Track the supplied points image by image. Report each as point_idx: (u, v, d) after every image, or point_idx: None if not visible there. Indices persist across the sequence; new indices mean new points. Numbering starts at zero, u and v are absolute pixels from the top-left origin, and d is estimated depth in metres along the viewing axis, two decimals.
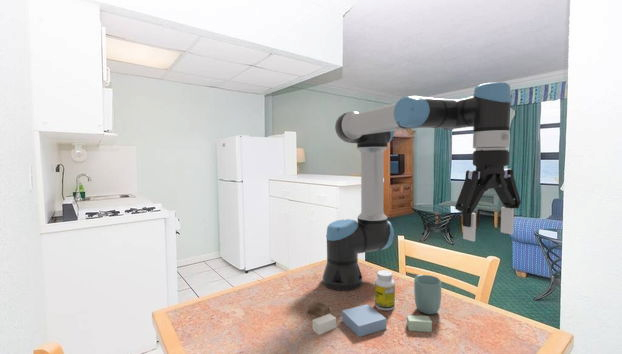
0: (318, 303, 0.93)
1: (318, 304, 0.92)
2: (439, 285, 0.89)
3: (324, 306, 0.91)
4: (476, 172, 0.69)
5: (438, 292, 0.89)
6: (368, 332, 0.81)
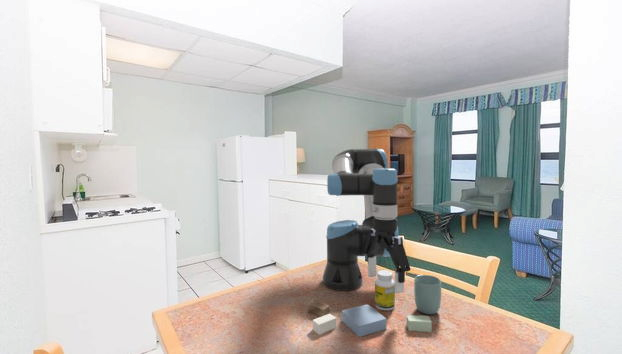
0: (318, 303, 0.93)
1: (318, 304, 0.92)
2: (439, 285, 0.89)
3: (324, 306, 0.91)
4: (369, 230, 1.00)
5: (438, 292, 0.89)
6: (368, 332, 0.81)
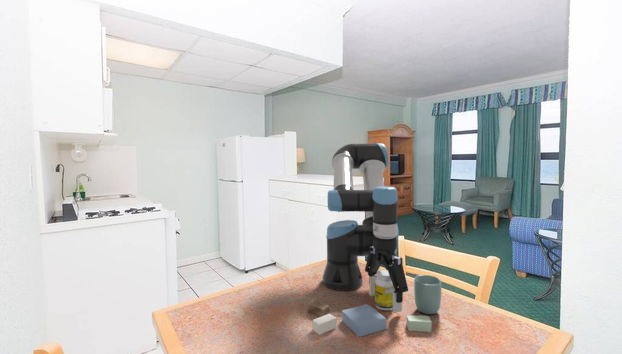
0: (318, 303, 0.93)
1: (318, 304, 0.92)
2: (439, 285, 0.89)
3: (324, 306, 0.91)
4: (369, 248, 1.00)
5: (438, 292, 0.89)
6: (368, 332, 0.81)
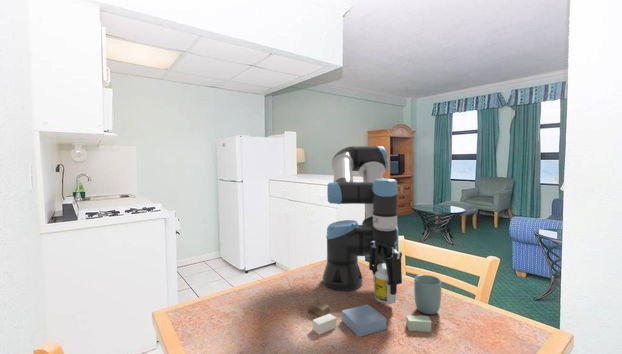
0: (318, 303, 0.93)
1: (318, 304, 0.92)
2: (439, 285, 0.89)
3: (324, 306, 0.91)
4: (369, 243, 1.00)
5: (438, 292, 0.89)
6: (368, 332, 0.81)
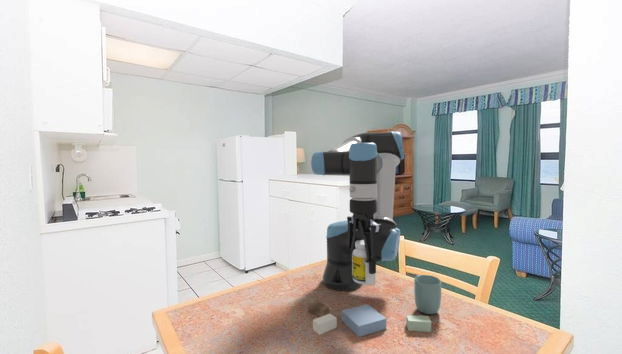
0: (318, 303, 0.93)
1: (318, 304, 0.92)
2: (439, 285, 0.89)
3: (324, 306, 0.91)
4: (347, 218, 0.89)
5: (438, 292, 0.89)
6: (368, 332, 0.81)
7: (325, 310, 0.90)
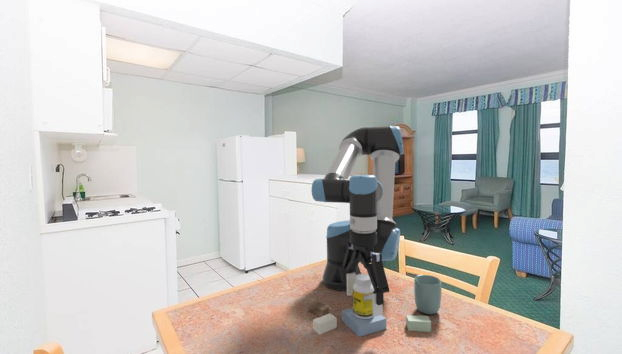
0: (318, 303, 0.93)
1: (318, 304, 0.92)
2: (439, 285, 0.89)
3: (324, 306, 0.91)
4: (347, 243, 0.90)
5: (438, 292, 0.89)
6: (368, 332, 0.81)
7: (325, 310, 0.90)
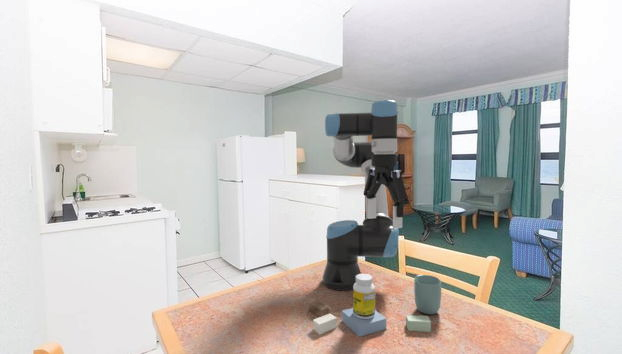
0: (319, 303, 0.93)
1: (318, 304, 0.92)
2: (439, 285, 0.89)
3: (323, 307, 0.91)
4: (369, 169, 0.96)
5: (438, 292, 0.89)
6: (368, 332, 0.81)
7: (324, 310, 0.90)
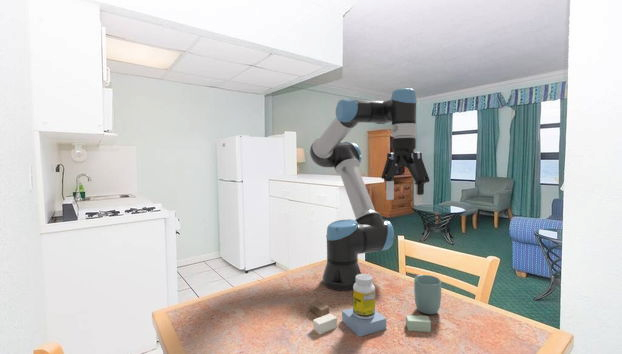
0: (319, 303, 0.93)
1: (318, 304, 0.92)
2: (439, 285, 0.89)
3: (323, 307, 0.91)
4: (387, 154, 1.04)
5: (438, 292, 0.89)
6: (368, 332, 0.81)
7: (324, 310, 0.90)
